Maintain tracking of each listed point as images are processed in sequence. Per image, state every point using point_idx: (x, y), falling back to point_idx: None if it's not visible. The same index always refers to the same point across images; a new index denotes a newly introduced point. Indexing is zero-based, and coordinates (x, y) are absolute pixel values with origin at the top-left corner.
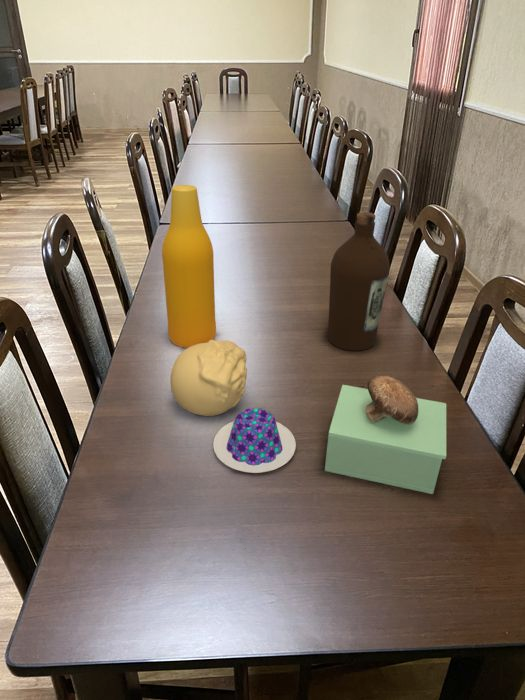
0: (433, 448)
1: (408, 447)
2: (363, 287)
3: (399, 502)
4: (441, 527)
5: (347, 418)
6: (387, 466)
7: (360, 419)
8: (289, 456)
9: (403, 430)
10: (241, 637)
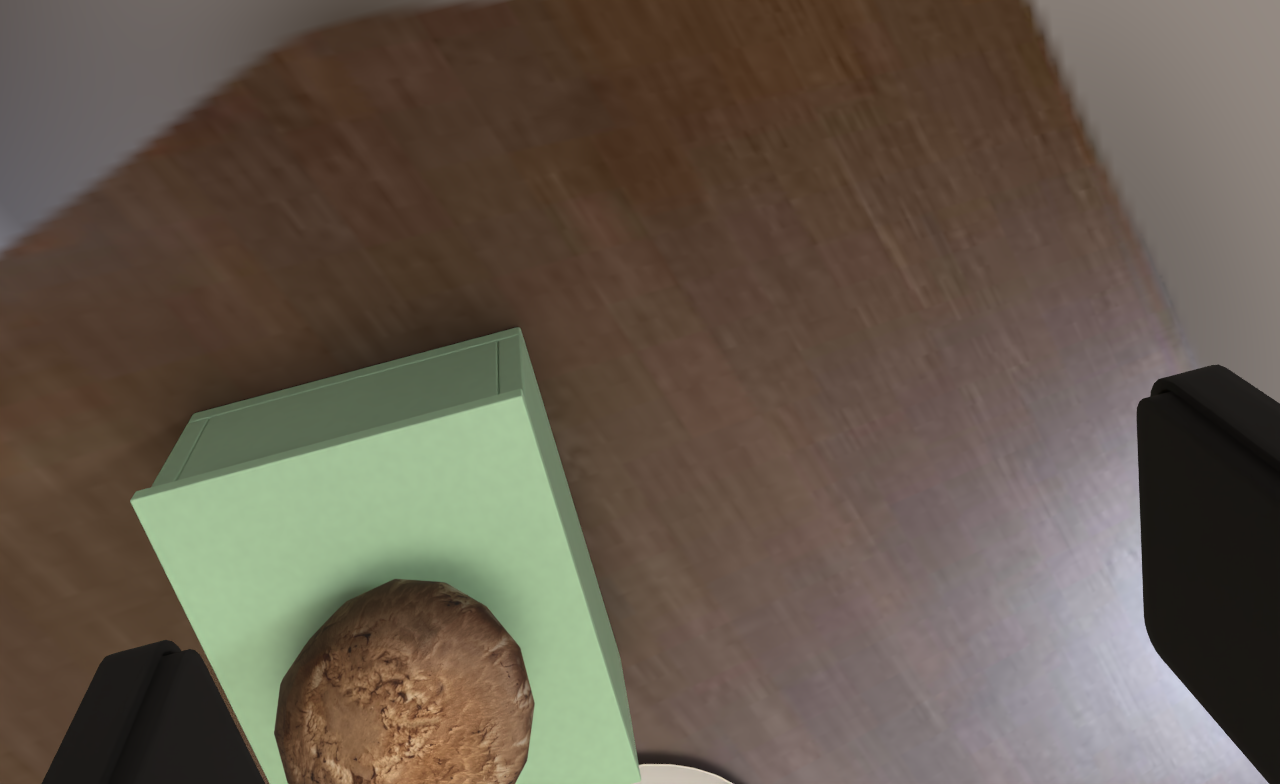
0: (504, 452)
1: (557, 532)
2: None
3: (623, 410)
4: (660, 255)
5: None
6: (573, 527)
7: None
8: None
9: (463, 583)
10: None
